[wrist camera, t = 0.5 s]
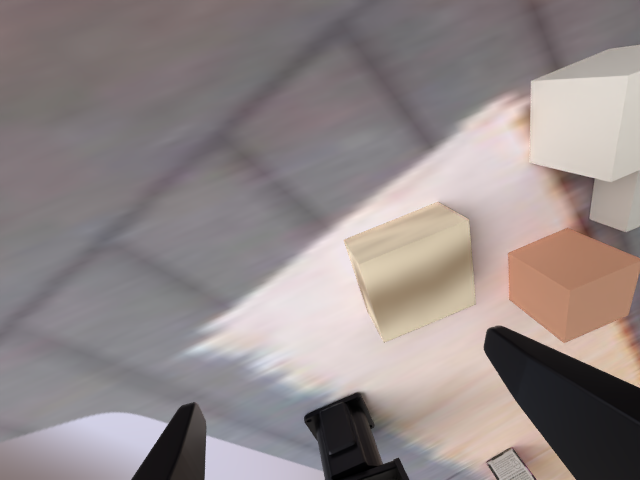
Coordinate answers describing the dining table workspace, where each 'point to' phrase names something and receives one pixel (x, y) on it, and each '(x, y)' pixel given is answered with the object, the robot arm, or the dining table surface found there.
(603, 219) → the plinth
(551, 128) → the offwhite cube
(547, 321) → the terracotta cube
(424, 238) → the base block
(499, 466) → the candy bar box
